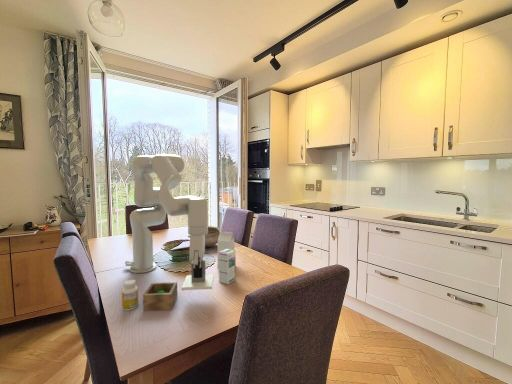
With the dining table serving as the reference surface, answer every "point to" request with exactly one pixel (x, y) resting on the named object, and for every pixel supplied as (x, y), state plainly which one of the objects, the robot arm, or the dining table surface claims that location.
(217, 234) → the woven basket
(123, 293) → the supplement bottle
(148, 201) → the robot arm
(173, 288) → the box
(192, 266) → the lid
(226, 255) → the syrup box
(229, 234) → the milk carton
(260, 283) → the dining table surface
